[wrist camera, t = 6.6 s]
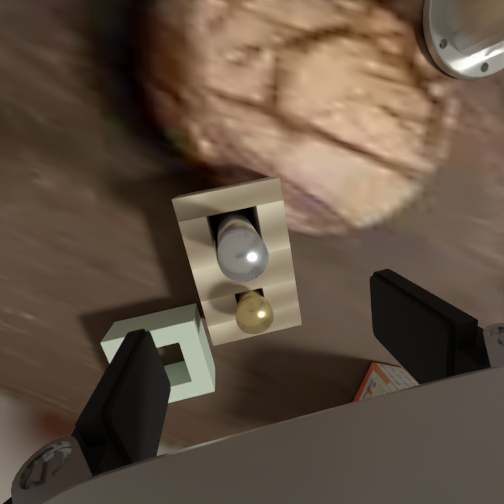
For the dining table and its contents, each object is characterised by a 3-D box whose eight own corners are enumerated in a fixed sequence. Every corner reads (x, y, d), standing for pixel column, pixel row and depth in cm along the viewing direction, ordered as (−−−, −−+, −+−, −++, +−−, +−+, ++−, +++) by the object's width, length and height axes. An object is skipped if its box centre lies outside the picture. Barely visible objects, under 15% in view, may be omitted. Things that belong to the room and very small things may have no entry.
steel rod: (214, 213, 29) (212, 239, 17) (245, 206, 29) (263, 228, 18) (221, 243, 30) (224, 286, 19) (251, 237, 30) (272, 275, 19)
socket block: (179, 195, 28) (171, 199, 23) (269, 176, 28) (279, 177, 24) (213, 320, 33) (213, 345, 28) (289, 302, 33) (301, 324, 29)
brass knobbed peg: (228, 274, 31) (232, 305, 24) (257, 267, 31) (270, 296, 24) (235, 300, 32) (240, 338, 25) (263, 294, 32) (276, 329, 25)
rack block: (114, 322, 31) (100, 342, 27) (196, 303, 32) (193, 320, 28) (141, 385, 34) (131, 412, 30) (215, 367, 35) (214, 391, 31)
